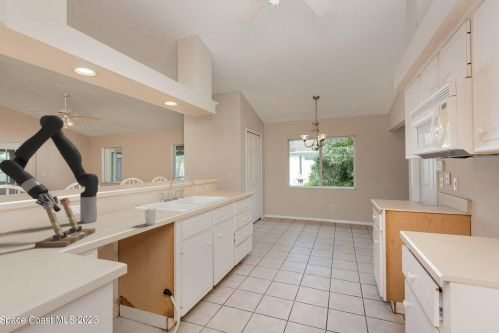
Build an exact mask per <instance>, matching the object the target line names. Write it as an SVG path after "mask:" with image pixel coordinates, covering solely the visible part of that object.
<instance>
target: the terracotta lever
mask: <svg viewBox="0 0 499 333" xmlns="http://www.w3.org/2000/svg"><path fill="white" fill-rule="evenodd" d="M59 203H60V205H61V206H63V209H64V212H65V214H66V217H67V218H68V222H69V225H70V226H71V228H77V230H79V227H78V226H79V225H78V223H77V220H76V217H75V214H74V212H73V209H72V207H71V205H70V203H71V201H70V198H69V197H64V198H61V199H59Z"/></svg>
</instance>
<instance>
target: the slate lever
mask: <svg viewBox="0 0 499 333" xmlns="http://www.w3.org/2000/svg"><path fill="white" fill-rule="evenodd" d="M41 206H42V208H43V210H45V211H46V214H47V216H48V219H49V221H50V223H51V226H52V228H53V232H54V235H61V237H63V236H64V233H63V232H64V231H63V229H62V227H61V225H60V222H59V220H58V216H57V215H56V212H55V211H54V209H53V207H54V205H53V202H52V201H49V202H45V203H42V205H41Z"/></svg>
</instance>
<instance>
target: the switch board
mask: <svg viewBox="0 0 499 333" xmlns="http://www.w3.org/2000/svg"><path fill="white" fill-rule="evenodd" d="M78 227H79V230H77V228H72V227H71V228H69V229H67V230H65V231H62V232H63V233H64V236H63V237H61V235H56V234H54V235H52V236H48V237H47V238H44V239H42V240H39V241H37V242H35V243H34V248H56V247H57V248H58V247H61V248H63V247H69V246H70V244H71V245H72V243H73V244H74V243H76V242H78V241H80V240H82V239H84V238H86V237H88V236H90V235H92V234H95V233H96V228H83V226H82V225H78ZM62 246H63V247H62Z"/></svg>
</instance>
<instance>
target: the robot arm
mask: <svg viewBox="0 0 499 333" xmlns="http://www.w3.org/2000/svg"><path fill="white" fill-rule="evenodd" d="M39 124H40V126H41V128H40V129H39V130H38V131H37V132H36V133H35V134H33V135H32V136H30V137H29V138H28V139H27V140H25V141H24V142H23V143H22V144H21V145H20V146H19V147H18V148H17V149H16V150H15V151H14V153H13V155H14V158H13V159H4V160H2V161H1V162H0V171H1V172H2V173H4V174H5V175H6V176H8V177H9V178H10V179H12V180H13V181H14V182H15V183H16V184H17V185H18V186H20V188H22V190H23V191H24V192H25V193H26V194H27V195H28V196H29V197H31V198H32V199H33V200H36V201H35V204H37V205H39V206H42V203H45V202H49V201H52V202H53V205H54V207H53V209H54V211H55V213H59V212H60V211H61V210H62V208H61V207H59V205H58V203H59V199H58V196H56V195H54V196H52V195H51V194H50V193H49V189H48V188H47V187H46V186H45V185H43V183H41V182H40V181H39V180H37V179H36V178H35V177H34V176H33V175H32V174H31V173H29V172H28V171H26V170H25V169H26V167H27V165H28V163H29V161H30V159H31V158H33V156H34V155H35V154H36V153H37V152H38V151H39V149H40V148H41V147H42V146H43V145H44V144H45V143H46V142H47V141H48V140H49V139H51V141H52V142H53V144H54V145H55V147H56V149H57V150H58V152H59V154H60V156H61V157H62V158H63V160H64V161H65V163H66V164H67V166H68V167H69V169H70V171H71V172H72V174H73V176H74V179H75V180H76V182H77V184H78V185H79V186H81V187H84V190H83V191H82V192H80V194H79V199H80V200H79V203H80V204H79V206H80V209H79V210H80V211H79V212H80V213H79V214H80V215H79V222H80V223H82V224H85V223H93V222H97V220H98V216H97V215H98V210H97V209H98V207H97V194H98V192H99V178H98V175H97V174H95V173H87V172H86V170H85V169H84V168H83V167H84V166H83V164H82V162H83V160H82V159H83V158H82V154H81V153H80V151H79V149H78V148H77V146H76V145H75V144H74V143H73V141H71V140H70V139H69V137H67V135H65V133H64V131H63V130H62V129H63V127H64V125H65V122H64V120H63V119H62V118H61V117H60V116H58V115H53V114H45V115H43V116H41V117H40V119H39Z"/></svg>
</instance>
